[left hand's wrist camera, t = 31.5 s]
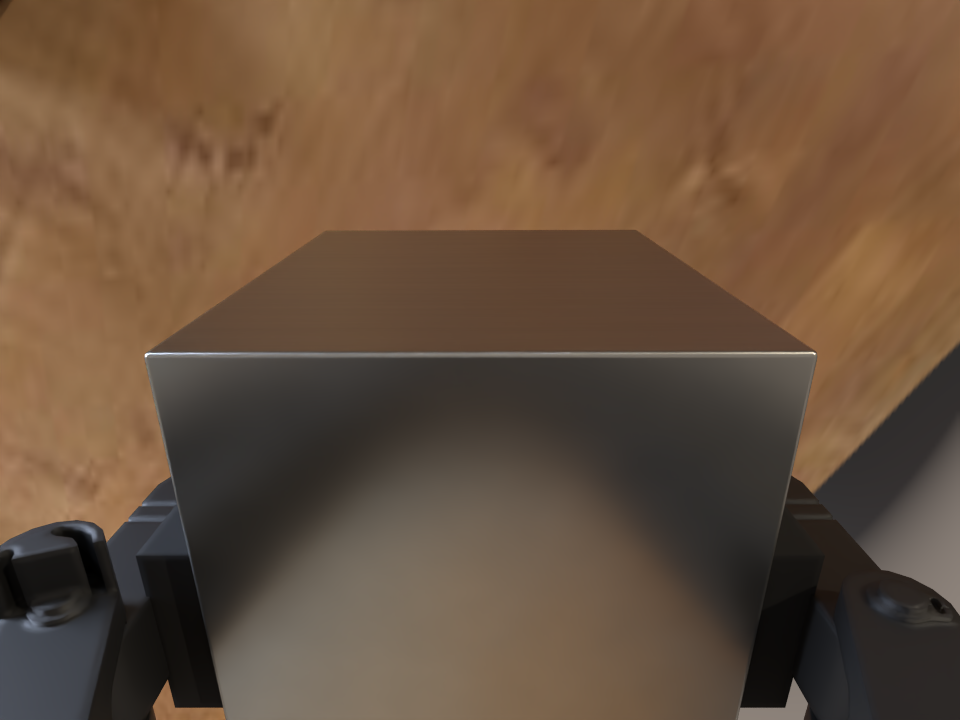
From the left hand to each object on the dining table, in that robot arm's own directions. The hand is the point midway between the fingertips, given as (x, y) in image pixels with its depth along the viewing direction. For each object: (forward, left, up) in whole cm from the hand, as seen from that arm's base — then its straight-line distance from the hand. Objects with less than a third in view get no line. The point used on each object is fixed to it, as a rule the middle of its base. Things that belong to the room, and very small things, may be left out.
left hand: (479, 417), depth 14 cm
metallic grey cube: (0, 0, -1) cm, 1 cm away
